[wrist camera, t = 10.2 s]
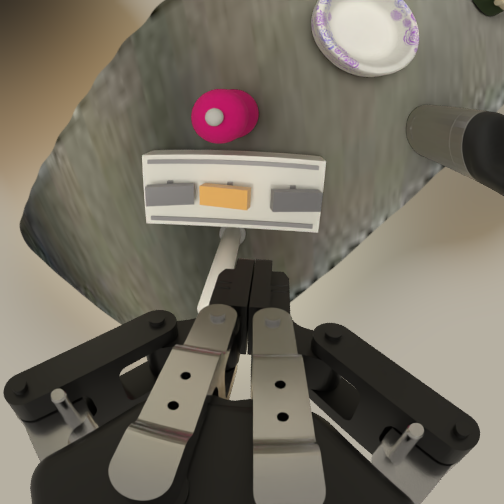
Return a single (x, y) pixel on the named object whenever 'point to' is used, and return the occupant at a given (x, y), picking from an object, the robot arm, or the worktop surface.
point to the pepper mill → (224, 115)
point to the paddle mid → (225, 196)
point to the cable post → (222, 260)
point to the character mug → (490, 6)
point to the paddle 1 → (169, 194)
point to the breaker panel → (236, 174)
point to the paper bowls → (366, 35)
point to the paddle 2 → (296, 200)
